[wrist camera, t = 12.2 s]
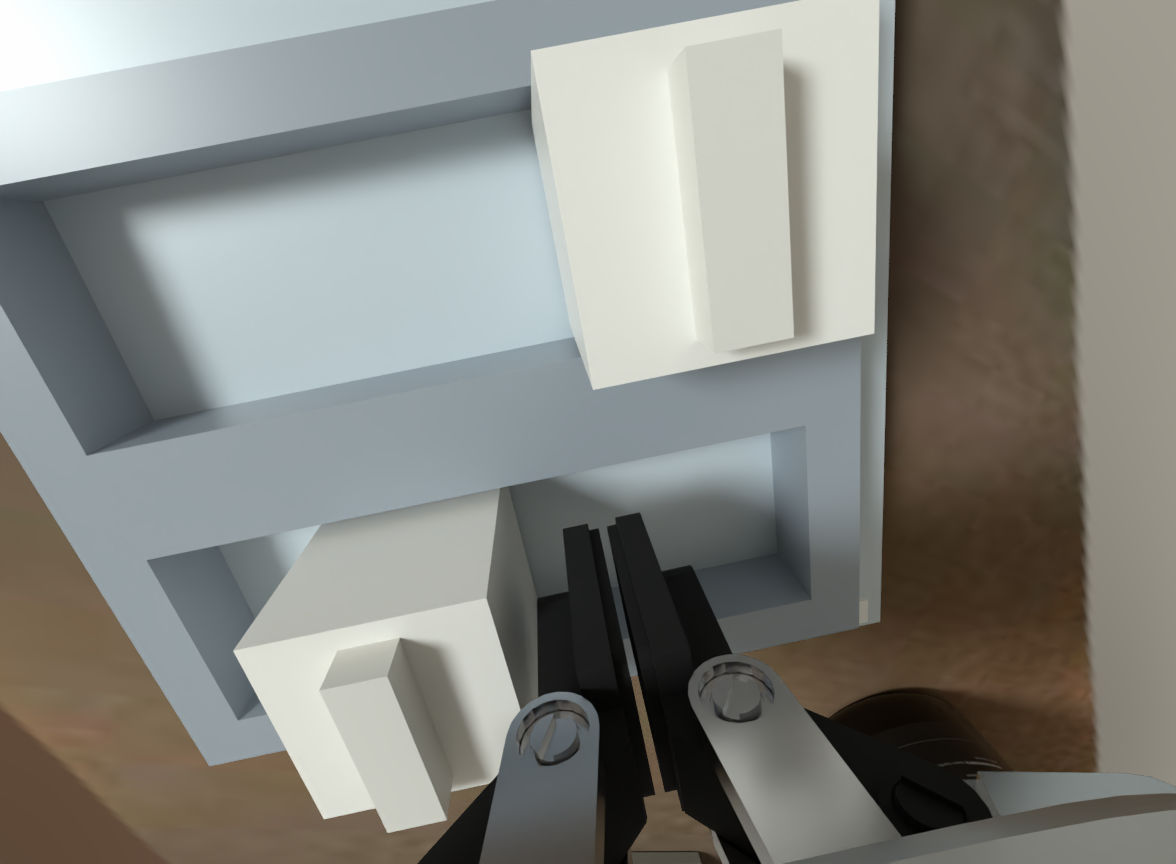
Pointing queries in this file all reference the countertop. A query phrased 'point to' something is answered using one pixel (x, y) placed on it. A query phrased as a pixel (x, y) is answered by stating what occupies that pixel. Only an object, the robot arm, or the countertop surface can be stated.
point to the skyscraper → (666, 858)
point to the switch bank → (372, 327)
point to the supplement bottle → (925, 731)
